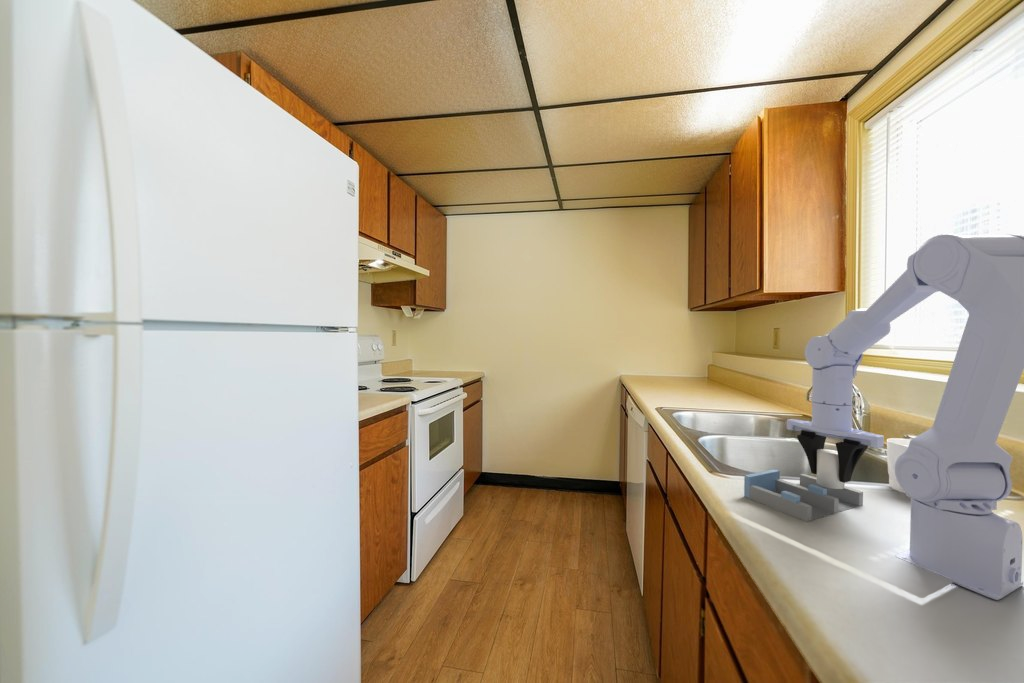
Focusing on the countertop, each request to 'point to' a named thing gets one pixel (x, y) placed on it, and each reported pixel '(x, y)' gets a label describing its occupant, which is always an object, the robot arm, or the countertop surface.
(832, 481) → the white rounded cylinder
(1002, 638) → the countertop surface
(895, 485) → the white cup
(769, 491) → the grey and blue rack
